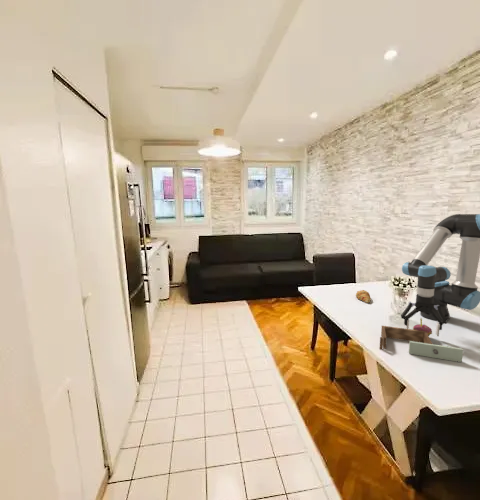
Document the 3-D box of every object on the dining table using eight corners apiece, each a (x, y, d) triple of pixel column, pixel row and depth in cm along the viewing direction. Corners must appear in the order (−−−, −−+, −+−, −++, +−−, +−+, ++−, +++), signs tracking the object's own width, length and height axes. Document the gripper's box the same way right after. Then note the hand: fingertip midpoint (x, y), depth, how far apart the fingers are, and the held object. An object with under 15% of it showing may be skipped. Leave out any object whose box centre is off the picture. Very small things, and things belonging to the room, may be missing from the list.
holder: (425, 342, 139) (426, 331, 138) (432, 357, 125) (433, 345, 124) (377, 335, 148) (378, 325, 147) (379, 349, 134) (380, 338, 133)
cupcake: (425, 343, 138) (427, 321, 136) (408, 336, 146) (410, 315, 144) (434, 339, 142) (436, 317, 140) (418, 332, 149) (419, 312, 147)
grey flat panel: (461, 360, 122) (462, 348, 121) (463, 363, 119) (464, 351, 118) (408, 352, 130) (409, 340, 129) (409, 355, 127) (410, 343, 127)
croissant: (371, 308, 195) (377, 299, 193) (359, 302, 195) (365, 293, 193) (361, 298, 216) (366, 289, 214) (350, 292, 216) (355, 284, 214)
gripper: (452, 295, 138) (448, 333, 142) (396, 290, 148) (394, 326, 152) (456, 300, 131) (452, 340, 135) (398, 294, 142) (396, 332, 145)
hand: (421, 333), depth 143 cm, fingers open, 13 cm apart
